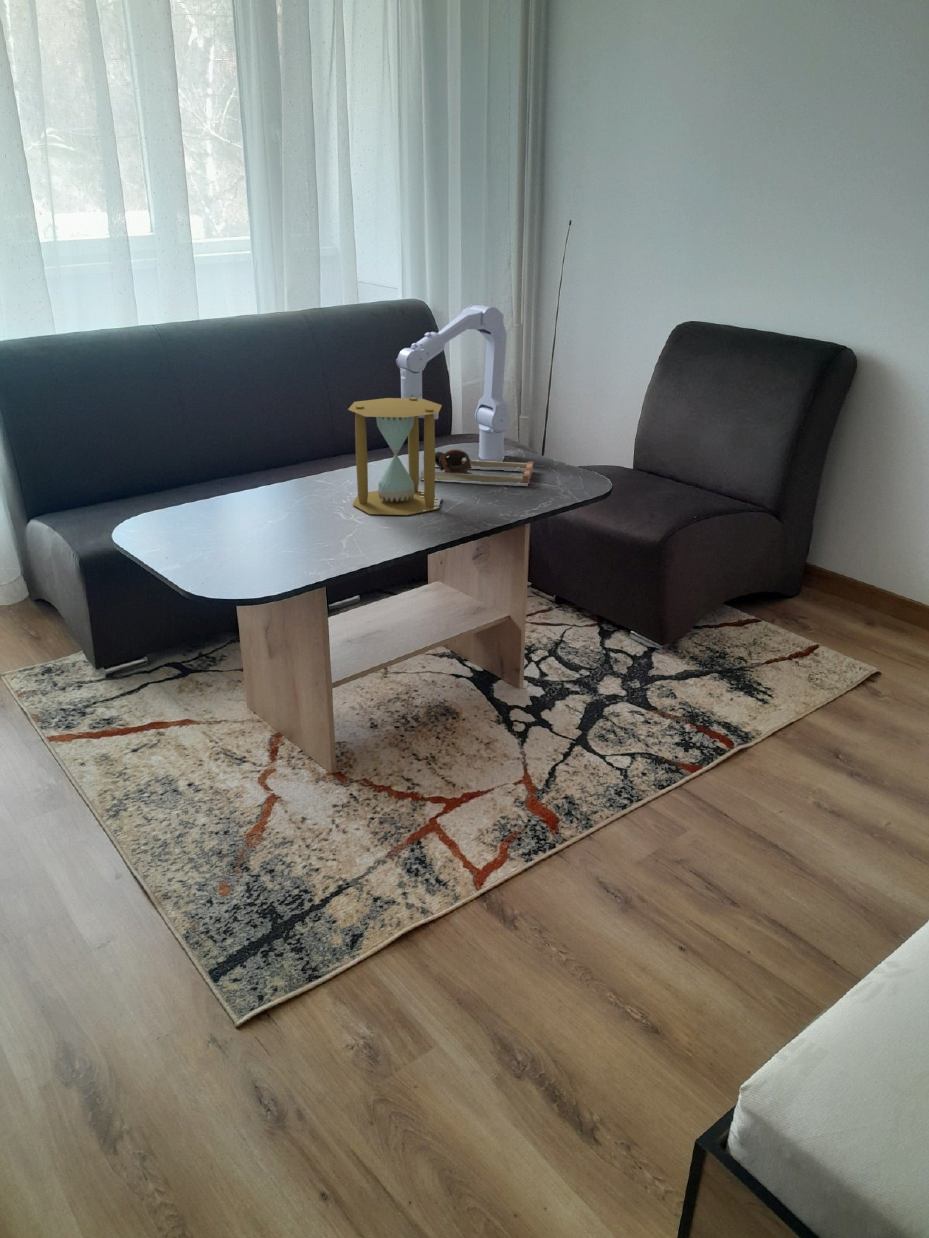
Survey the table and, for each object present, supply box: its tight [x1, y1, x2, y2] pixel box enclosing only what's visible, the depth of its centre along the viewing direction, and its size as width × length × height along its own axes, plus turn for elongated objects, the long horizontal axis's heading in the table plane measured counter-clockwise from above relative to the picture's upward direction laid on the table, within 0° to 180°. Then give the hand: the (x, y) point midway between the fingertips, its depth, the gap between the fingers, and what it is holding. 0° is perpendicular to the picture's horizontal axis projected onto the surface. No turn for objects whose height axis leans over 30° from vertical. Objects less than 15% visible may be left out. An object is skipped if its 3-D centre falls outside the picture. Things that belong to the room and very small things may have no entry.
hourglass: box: [347, 397, 443, 516], centre depth 235 cm, size 24×22×25 cm
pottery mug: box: [435, 448, 472, 474], centre depth 263 cm, size 12×10×8 cm
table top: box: [420, 459, 534, 483], centre depth 262 cm, size 15×30×3 cm, turn 81°
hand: (412, 443), depth 261 cm, fingers open, 7 cm apart
